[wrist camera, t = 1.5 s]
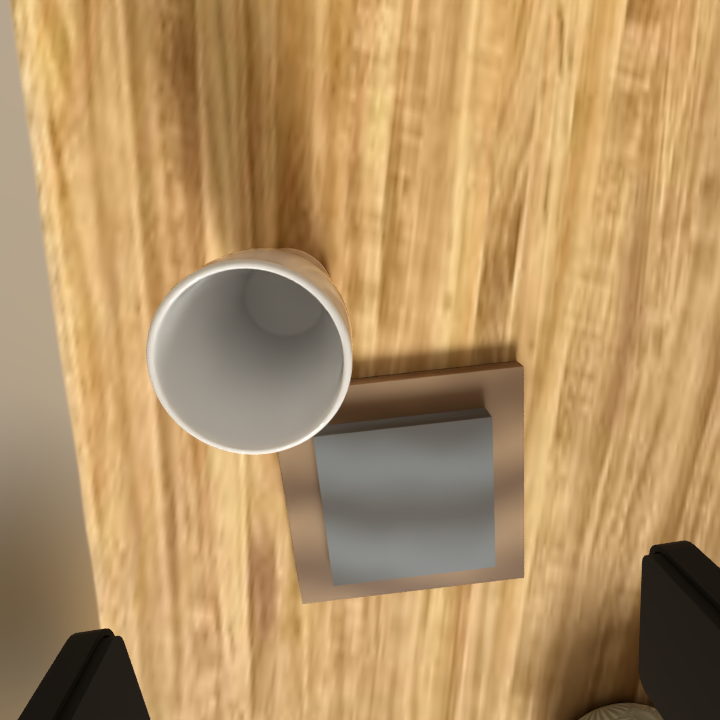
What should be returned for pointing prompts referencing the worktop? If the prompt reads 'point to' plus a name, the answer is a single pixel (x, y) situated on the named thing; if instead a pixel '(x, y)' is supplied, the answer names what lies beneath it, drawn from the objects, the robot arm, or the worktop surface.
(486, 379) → the base
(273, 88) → the worktop surface
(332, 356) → the drinking glass
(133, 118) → the worktop surface
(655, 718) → the planter
